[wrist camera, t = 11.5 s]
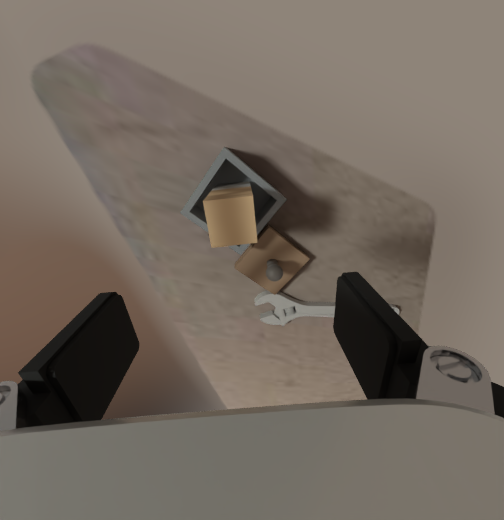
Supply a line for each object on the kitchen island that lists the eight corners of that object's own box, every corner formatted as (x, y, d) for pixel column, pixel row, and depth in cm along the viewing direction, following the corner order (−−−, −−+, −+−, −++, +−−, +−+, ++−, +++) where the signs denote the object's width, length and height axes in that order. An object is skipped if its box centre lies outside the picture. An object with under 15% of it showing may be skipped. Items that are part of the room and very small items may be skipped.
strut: (249, 181, 30) (253, 195, 20) (252, 214, 32) (257, 242, 22) (215, 184, 30) (202, 201, 20) (221, 217, 32) (211, 247, 22)
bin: (280, 192, 32) (286, 199, 27) (240, 241, 35) (240, 255, 30) (227, 147, 29) (224, 146, 25) (188, 204, 32) (180, 213, 28)
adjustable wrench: (396, 301, 41) (403, 308, 40) (383, 329, 44) (388, 336, 42) (258, 287, 39) (258, 292, 37) (252, 317, 41) (252, 324, 40)
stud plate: (307, 255, 36) (317, 271, 31) (273, 290, 39) (278, 311, 34) (267, 224, 34) (272, 237, 29) (234, 263, 36) (233, 282, 31)
